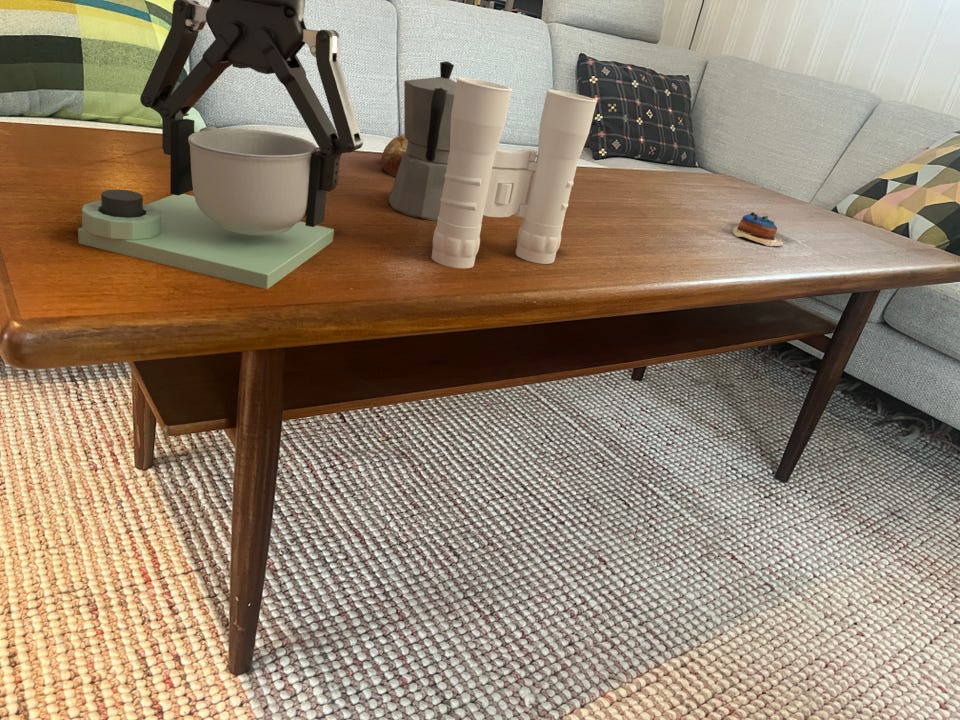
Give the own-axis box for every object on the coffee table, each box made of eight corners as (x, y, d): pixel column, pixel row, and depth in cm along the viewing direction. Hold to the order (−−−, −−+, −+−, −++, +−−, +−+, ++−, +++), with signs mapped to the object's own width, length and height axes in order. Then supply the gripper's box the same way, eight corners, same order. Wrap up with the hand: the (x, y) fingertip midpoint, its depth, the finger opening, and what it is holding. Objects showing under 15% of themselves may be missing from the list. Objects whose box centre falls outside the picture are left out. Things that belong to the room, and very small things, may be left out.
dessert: (724, 228, 115) (745, 198, 115) (728, 247, 121) (749, 218, 121) (770, 248, 111) (792, 217, 111) (772, 267, 117) (793, 237, 117)
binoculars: (537, 248, 88) (573, 92, 80) (567, 264, 84) (607, 102, 77) (417, 253, 77) (445, 75, 70) (446, 271, 74) (479, 85, 66)
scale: (67, 244, 62) (65, 210, 60) (173, 204, 77) (174, 176, 75) (264, 292, 60) (266, 258, 59) (332, 242, 75) (335, 214, 74)
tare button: (93, 214, 62) (92, 194, 61) (116, 206, 65) (116, 187, 64) (128, 222, 62) (128, 202, 61) (150, 214, 64) (150, 195, 64)
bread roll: (417, 189, 118) (407, 139, 117) (467, 178, 112) (457, 125, 110) (375, 194, 110) (364, 140, 109) (426, 182, 104) (415, 125, 103)
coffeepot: (393, 191, 99) (413, 50, 92) (461, 204, 100) (486, 65, 92) (378, 221, 85) (400, 58, 78) (457, 235, 86) (486, 75, 78)
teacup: (332, 241, 67) (339, 152, 64) (214, 246, 60) (216, 147, 57) (267, 203, 76) (270, 124, 73) (159, 203, 70) (158, 116, 66)
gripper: (418, -18, 61) (385, 227, 70) (145, -75, 63) (147, 172, 72) (394, -25, 55) (361, 247, 64) (89, -88, 56) (99, 185, 65)
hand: (247, 207), depth 68 cm, fingers closed on teacup, 12 cm apart
